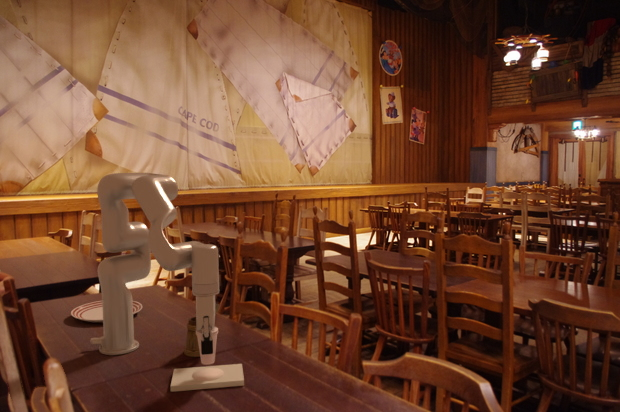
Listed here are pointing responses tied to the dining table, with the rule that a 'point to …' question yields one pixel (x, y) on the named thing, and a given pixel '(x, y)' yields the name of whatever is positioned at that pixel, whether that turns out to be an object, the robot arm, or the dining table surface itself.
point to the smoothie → (210, 358)
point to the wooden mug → (193, 337)
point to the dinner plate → (96, 311)
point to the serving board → (207, 377)
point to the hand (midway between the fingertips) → (207, 348)
